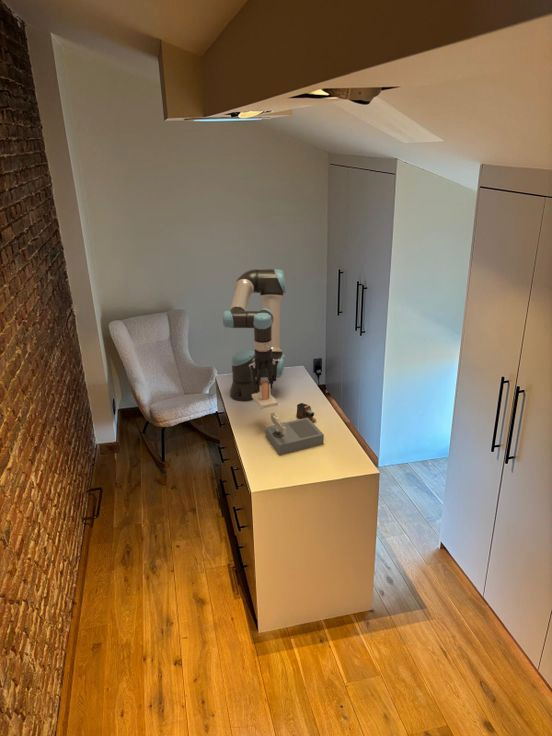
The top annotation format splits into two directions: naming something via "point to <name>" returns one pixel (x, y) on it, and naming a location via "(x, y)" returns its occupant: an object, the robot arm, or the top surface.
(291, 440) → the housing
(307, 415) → the electronic device
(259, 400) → the cover
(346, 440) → the top surface
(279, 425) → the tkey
